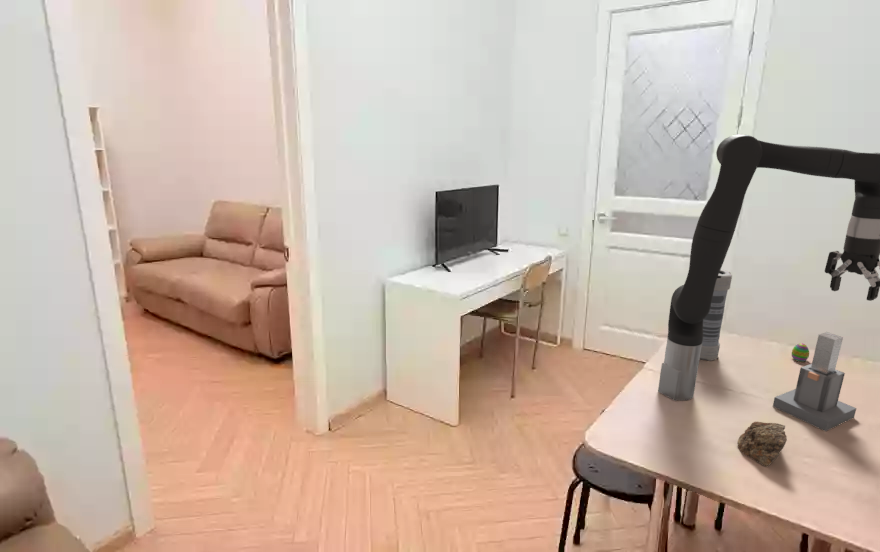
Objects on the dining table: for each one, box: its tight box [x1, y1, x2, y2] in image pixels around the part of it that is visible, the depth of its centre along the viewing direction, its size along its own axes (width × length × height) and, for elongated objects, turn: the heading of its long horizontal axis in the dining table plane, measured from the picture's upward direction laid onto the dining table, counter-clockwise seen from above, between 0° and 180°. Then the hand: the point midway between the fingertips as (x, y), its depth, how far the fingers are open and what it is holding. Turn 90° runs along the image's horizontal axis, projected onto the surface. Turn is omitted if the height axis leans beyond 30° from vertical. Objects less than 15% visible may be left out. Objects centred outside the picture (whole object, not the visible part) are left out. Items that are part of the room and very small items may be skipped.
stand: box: [772, 363, 857, 432], centre depth 147 cm, size 14×14×13 cm
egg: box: [791, 342, 810, 363], centre depth 180 cm, size 5×5×6 cm
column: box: [811, 331, 844, 376], centre depth 145 cm, size 4×4×20 cm
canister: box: [699, 268, 733, 361], centre depth 180 cm, size 10×10×30 cm
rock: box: [736, 421, 788, 468], centre depth 131 cm, size 14×9×10 cm
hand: (852, 295), depth 139 cm, fingers open, 8 cm apart
